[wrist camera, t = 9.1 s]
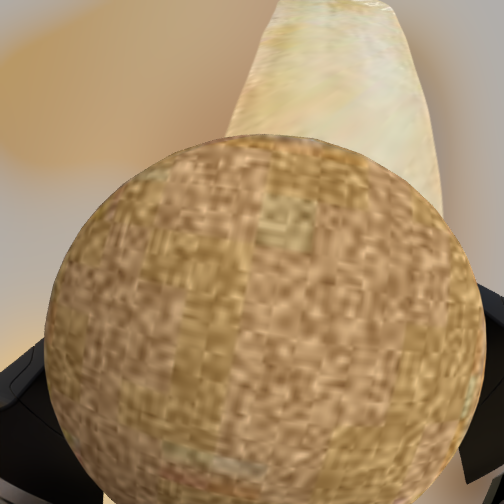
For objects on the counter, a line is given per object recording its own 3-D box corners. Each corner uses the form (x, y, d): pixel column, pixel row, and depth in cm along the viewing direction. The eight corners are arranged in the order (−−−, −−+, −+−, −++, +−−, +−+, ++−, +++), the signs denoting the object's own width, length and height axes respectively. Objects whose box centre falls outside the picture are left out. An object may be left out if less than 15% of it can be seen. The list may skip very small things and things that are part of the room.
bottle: (332, 308, 17) (549, 246, 2) (286, 390, 16) (335, 601, 1) (250, 264, 18) (177, 51, 3) (203, 345, 17) (-17, 403, 2)
